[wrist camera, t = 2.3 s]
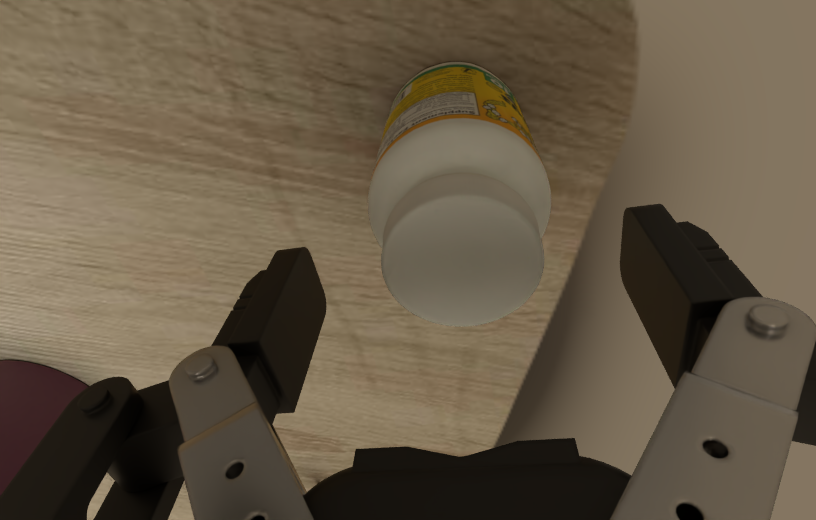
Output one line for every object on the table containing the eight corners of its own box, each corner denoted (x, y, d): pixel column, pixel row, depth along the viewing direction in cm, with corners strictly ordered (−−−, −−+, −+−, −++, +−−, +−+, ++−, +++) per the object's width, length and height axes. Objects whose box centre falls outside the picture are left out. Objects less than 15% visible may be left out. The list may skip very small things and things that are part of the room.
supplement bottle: (370, 81, 18) (317, 196, 11) (508, 40, 17) (562, 136, 10) (409, 200, 21) (389, 359, 14) (529, 172, 20) (584, 328, 12)
